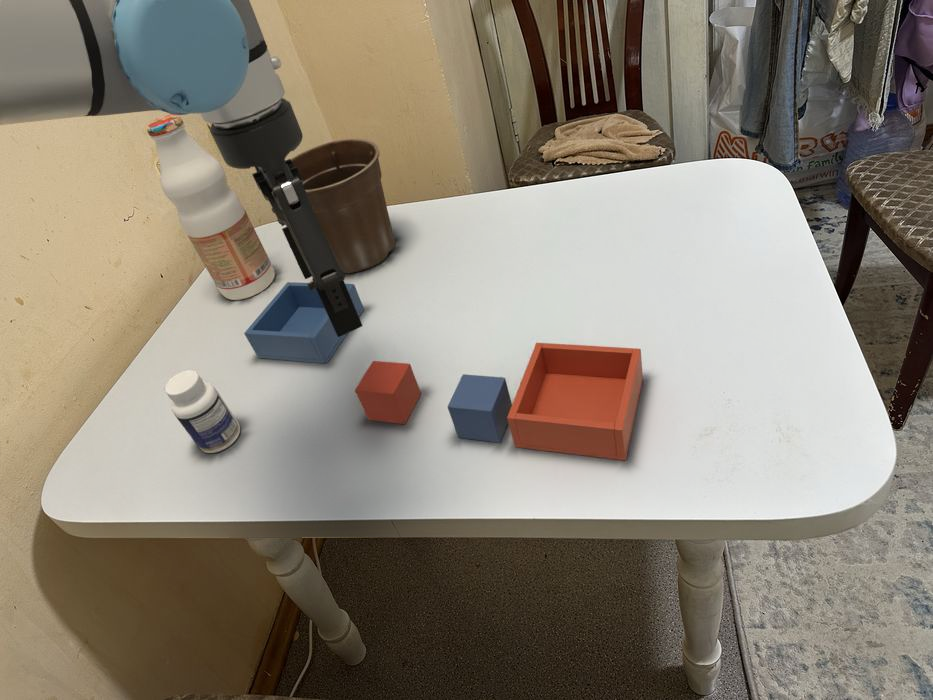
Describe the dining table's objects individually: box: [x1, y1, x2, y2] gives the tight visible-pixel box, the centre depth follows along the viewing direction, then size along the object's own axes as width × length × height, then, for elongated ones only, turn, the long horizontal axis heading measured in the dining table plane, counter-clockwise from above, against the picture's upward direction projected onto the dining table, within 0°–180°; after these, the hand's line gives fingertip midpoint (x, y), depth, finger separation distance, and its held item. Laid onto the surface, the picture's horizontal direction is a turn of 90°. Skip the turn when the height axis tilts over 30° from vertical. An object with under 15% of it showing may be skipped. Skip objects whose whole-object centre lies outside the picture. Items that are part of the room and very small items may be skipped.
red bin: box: [507, 342, 644, 461], centre depth 70 cm, size 12×12×5 cm
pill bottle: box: [164, 369, 241, 454], centre depth 78 cm, size 5×5×10 cm
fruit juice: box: [145, 114, 276, 301], centre depth 100 cm, size 9×9×28 cm
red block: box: [354, 360, 422, 425], centre depth 77 cm, size 5×5×5 cm
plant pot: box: [290, 138, 396, 274], centre depth 103 cm, size 16×16×16 cm
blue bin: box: [243, 281, 365, 364], centre depth 93 cm, size 12×12×5 cm
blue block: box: [447, 373, 513, 444], centre depth 72 cm, size 5×5×5 cm
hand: (331, 299), depth 72 cm, fingers open, 13 cm apart
